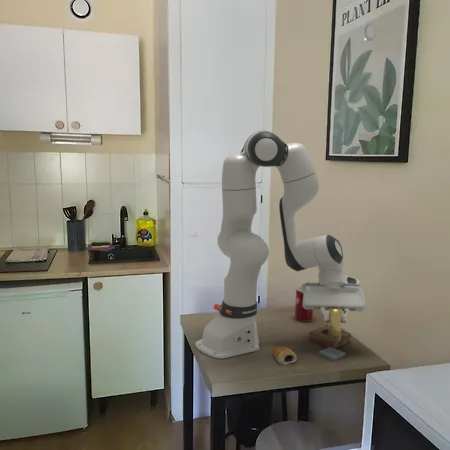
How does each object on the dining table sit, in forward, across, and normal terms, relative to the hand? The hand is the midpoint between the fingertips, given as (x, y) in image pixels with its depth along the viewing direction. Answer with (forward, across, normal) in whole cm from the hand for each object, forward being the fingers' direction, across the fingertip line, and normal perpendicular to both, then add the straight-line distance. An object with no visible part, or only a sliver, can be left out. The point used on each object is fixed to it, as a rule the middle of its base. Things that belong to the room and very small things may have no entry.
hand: (335, 321), depth 141 cm
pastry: (+11, -16, +5) cm, 21 cm away
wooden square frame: (0, +1, +17) cm, 17 cm away
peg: (+4, 0, +5) cm, 6 cm away
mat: (+8, 0, +8) cm, 12 cm away
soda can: (-14, -6, +31) cm, 35 cm away
